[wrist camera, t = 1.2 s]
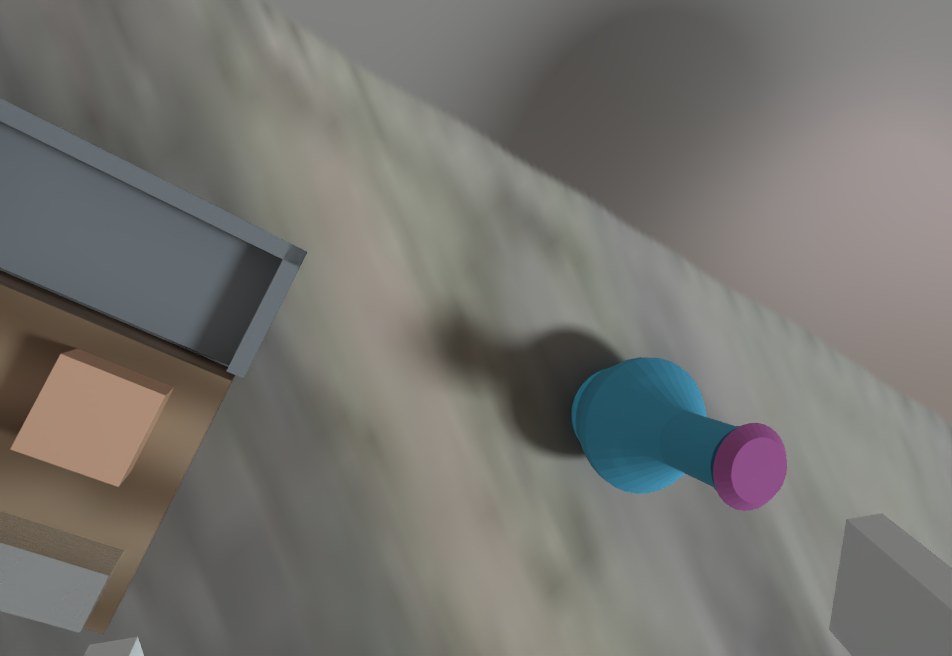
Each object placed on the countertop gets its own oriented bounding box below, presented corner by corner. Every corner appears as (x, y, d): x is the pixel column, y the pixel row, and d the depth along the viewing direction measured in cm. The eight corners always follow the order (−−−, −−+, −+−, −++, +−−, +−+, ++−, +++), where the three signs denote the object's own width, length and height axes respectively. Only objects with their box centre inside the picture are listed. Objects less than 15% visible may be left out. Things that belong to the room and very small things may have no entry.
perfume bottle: (599, 498, 46) (739, 595, 32) (531, 403, 44) (649, 462, 30) (686, 419, 48) (856, 477, 33) (625, 325, 46) (779, 344, 31)
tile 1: (130, 472, 33) (118, 486, 31) (31, 436, 32) (10, 449, 29) (174, 387, 33) (165, 395, 31) (77, 348, 32) (60, 353, 29)
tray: (247, 370, 38) (243, 378, 35) (-143, 203, 32) (-193, 194, 29) (305, 254, 39) (307, 251, 35) (-67, 68, 33) (-108, 44, 29)
